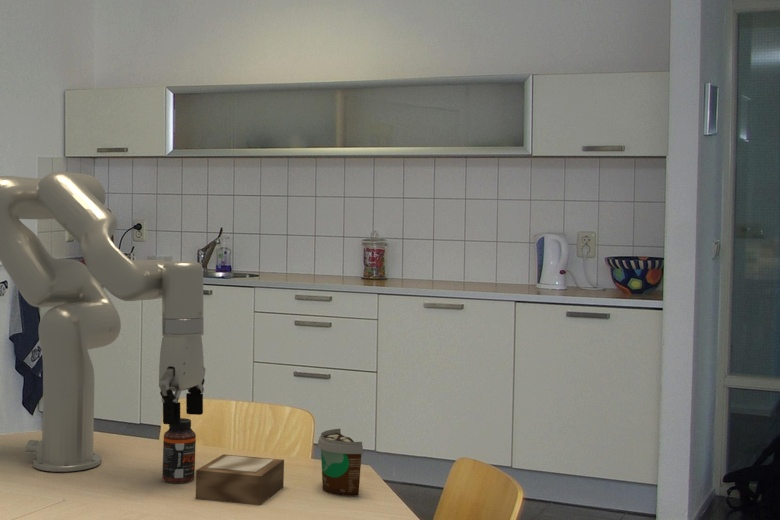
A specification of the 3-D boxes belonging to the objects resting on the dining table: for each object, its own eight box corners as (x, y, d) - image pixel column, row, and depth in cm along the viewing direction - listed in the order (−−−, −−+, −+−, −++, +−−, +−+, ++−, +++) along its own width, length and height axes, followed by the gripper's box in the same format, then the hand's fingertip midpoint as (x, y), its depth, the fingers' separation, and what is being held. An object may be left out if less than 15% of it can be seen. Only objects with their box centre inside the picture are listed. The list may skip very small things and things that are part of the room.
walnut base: (195, 498, 164) (196, 468, 163) (222, 480, 175) (223, 453, 175) (260, 504, 161) (261, 474, 161) (283, 486, 173) (284, 458, 173)
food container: (307, 482, 176) (308, 429, 176) (337, 479, 178) (339, 427, 178) (329, 500, 165) (330, 444, 164) (361, 497, 167) (363, 442, 167)
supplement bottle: (186, 485, 172) (188, 424, 171) (156, 482, 173) (157, 421, 172) (199, 477, 178) (201, 417, 177) (170, 474, 179) (171, 415, 178)
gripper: (184, 323, 183) (185, 410, 184) (142, 331, 167) (142, 427, 167) (220, 323, 182) (220, 411, 182) (181, 332, 165) (181, 429, 165)
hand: (183, 419), depth 175 cm, fingers open, 9 cm apart
